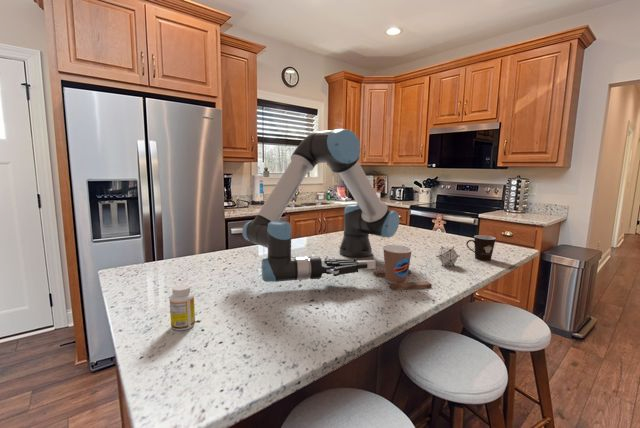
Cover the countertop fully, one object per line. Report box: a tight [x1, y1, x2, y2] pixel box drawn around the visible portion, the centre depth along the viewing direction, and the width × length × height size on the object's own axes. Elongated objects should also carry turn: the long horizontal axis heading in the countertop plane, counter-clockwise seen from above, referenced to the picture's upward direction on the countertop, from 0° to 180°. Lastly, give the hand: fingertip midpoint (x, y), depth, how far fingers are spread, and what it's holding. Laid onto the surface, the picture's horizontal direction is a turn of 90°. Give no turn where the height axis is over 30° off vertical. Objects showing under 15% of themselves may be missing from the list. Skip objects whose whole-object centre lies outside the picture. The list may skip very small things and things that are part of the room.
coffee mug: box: [465, 234, 497, 262], centre depth 145 cm, size 12×9×10 cm
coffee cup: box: [382, 244, 413, 284], centre depth 115 cm, size 10×10×12 cm
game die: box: [435, 245, 461, 267], centre depth 134 cm, size 9×8×10 cm
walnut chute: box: [372, 269, 432, 291], centre depth 116 cm, size 14×17×1 cm
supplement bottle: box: [169, 284, 196, 332], centre depth 80 cm, size 6×6×10 cm
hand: (374, 264), depth 112 cm, fingers closed
